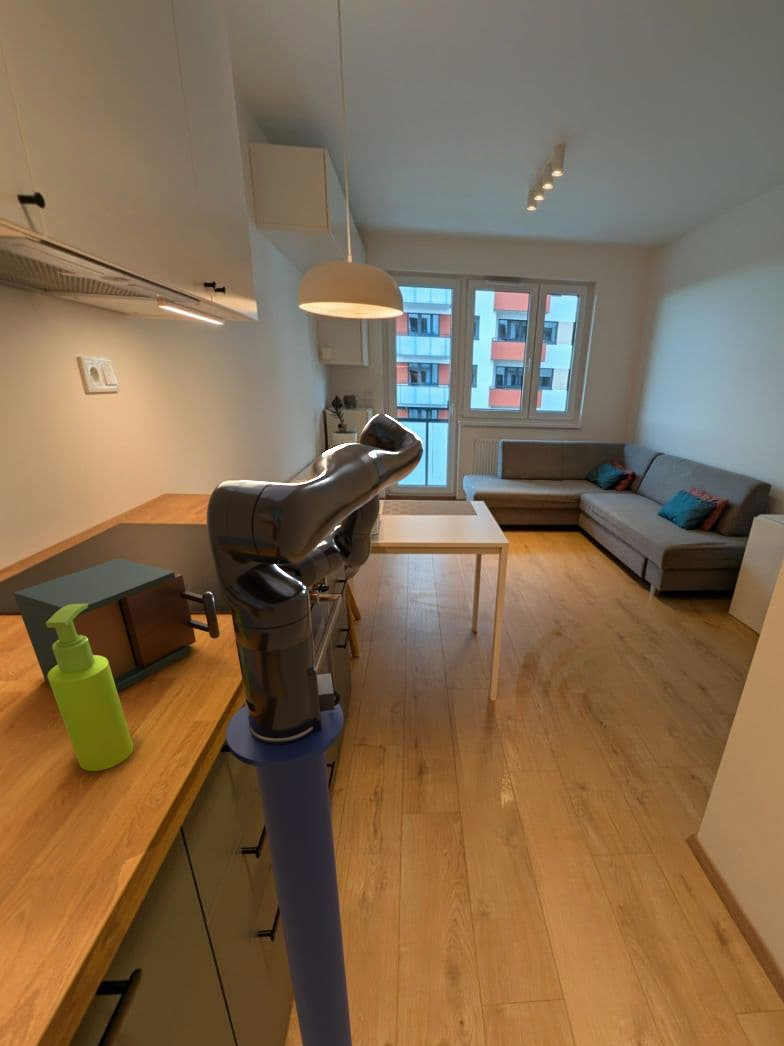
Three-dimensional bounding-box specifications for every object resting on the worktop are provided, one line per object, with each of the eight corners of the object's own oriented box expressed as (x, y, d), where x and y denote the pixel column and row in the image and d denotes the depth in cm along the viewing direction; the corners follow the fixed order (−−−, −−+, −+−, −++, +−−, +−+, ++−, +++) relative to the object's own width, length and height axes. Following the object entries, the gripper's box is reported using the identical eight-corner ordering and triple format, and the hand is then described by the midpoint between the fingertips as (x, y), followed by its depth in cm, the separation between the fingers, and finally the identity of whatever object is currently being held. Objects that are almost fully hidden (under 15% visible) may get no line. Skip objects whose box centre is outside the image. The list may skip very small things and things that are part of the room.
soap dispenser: (143, 732, 69) (105, 599, 60) (122, 768, 63) (77, 626, 54) (95, 735, 68) (50, 601, 59) (69, 773, 62) (15, 629, 53)
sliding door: (224, 649, 87) (212, 581, 82) (173, 679, 79) (156, 605, 73) (191, 639, 90) (176, 572, 85) (138, 667, 82) (118, 595, 76)
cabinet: (191, 652, 88) (174, 571, 81) (101, 702, 74) (72, 611, 68) (138, 635, 92) (118, 558, 86) (44, 680, 79) (12, 592, 72)
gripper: (330, 592, 103) (271, 628, 89) (278, 580, 108) (214, 613, 93) (327, 558, 100) (266, 589, 85) (274, 547, 105) (207, 575, 90)
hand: (239, 601), depth 89 cm, fingers closed
